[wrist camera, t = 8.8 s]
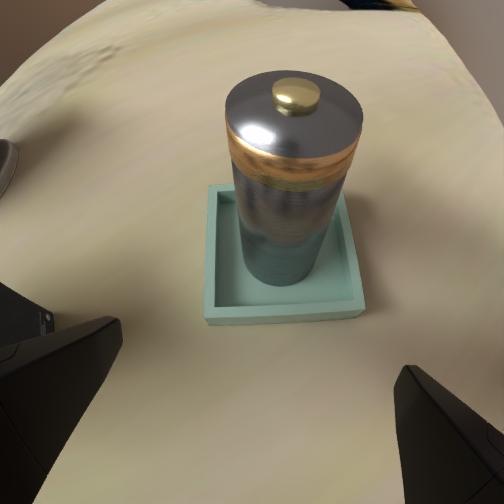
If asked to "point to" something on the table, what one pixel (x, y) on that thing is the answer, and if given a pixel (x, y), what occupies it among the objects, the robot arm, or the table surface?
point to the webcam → (7, 163)
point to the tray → (272, 297)
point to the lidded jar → (288, 167)
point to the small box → (21, 318)
